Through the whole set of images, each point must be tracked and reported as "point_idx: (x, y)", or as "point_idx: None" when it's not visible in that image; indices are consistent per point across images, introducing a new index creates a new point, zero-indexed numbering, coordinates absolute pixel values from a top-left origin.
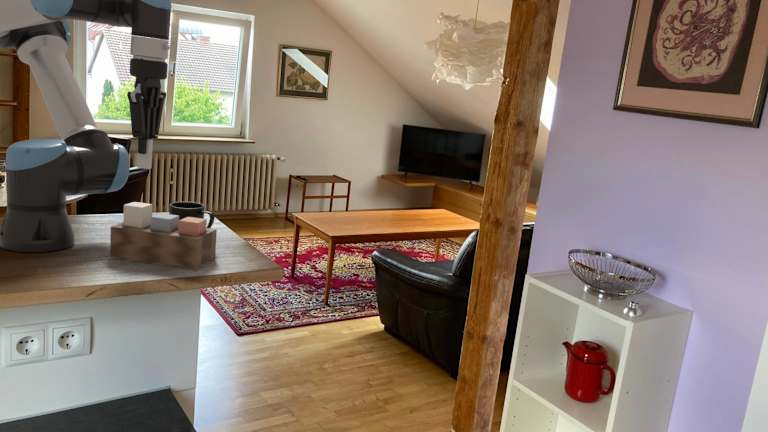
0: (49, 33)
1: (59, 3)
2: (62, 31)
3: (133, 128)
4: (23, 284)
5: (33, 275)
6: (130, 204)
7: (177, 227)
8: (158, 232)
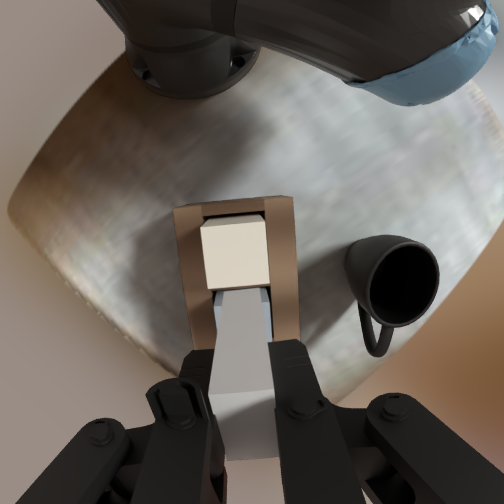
0: None
1: None
2: None
3: (60, 473)
4: (26, 198)
5: (53, 176)
6: (220, 237)
7: None
8: (197, 326)
